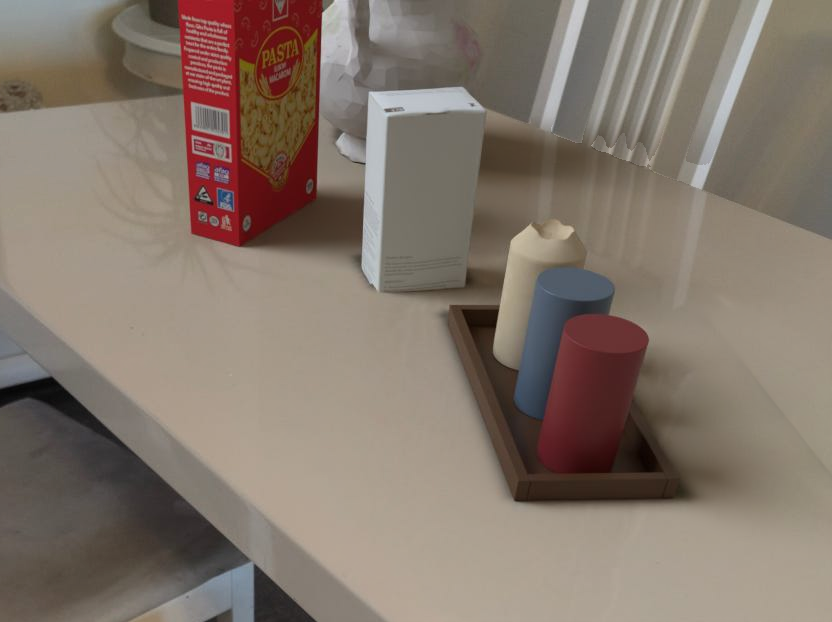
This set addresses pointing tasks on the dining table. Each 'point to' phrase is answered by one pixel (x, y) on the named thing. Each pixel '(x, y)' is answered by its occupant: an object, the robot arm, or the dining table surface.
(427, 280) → the cosmetic box
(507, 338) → the candle
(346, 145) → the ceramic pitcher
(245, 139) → the food packaging
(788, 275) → the dining table surface
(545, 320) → the slate candle
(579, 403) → the burgundy candle
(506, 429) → the tray
